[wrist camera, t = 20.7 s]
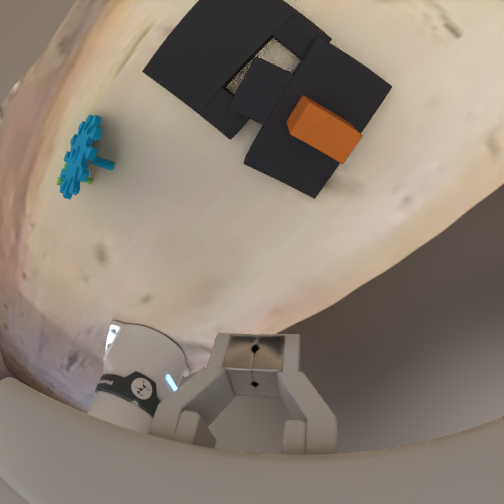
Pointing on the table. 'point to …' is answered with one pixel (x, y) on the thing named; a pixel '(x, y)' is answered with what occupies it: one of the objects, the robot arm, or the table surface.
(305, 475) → the robot arm
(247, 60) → the socket pad
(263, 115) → the pad
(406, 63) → the table surface
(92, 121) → the gear
